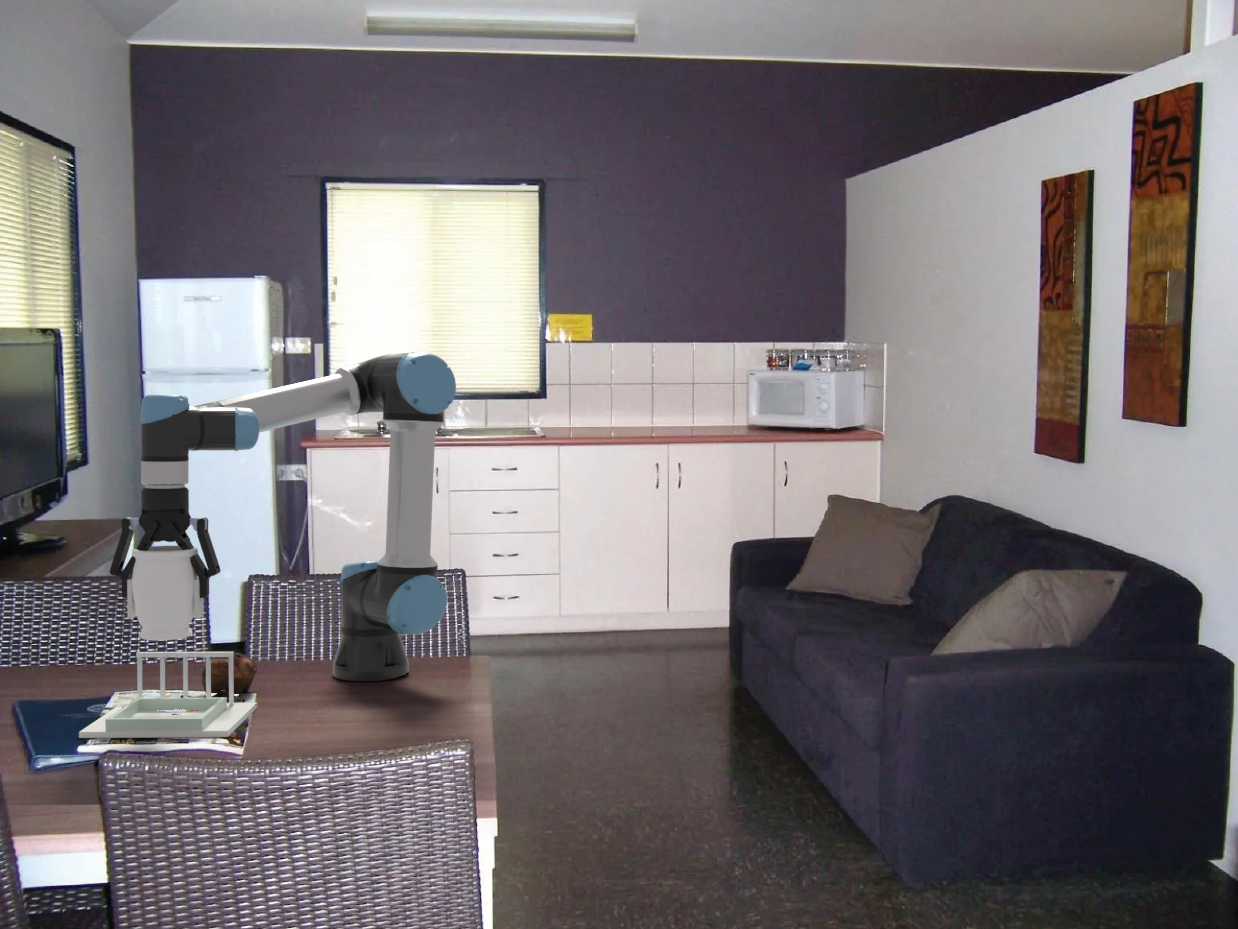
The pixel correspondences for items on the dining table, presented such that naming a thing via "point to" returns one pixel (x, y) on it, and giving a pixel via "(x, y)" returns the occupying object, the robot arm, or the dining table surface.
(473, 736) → the dining table surface
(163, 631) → the jar
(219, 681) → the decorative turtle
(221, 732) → the dish rack
